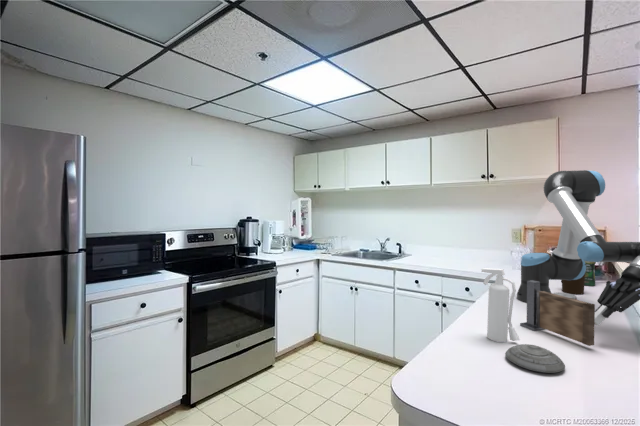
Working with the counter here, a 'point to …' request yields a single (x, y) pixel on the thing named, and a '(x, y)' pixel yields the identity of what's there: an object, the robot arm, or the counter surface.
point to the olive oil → (574, 286)
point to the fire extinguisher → (499, 307)
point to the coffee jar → (590, 274)
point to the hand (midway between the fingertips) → (594, 322)
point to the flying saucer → (535, 358)
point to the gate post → (532, 306)
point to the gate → (566, 317)
